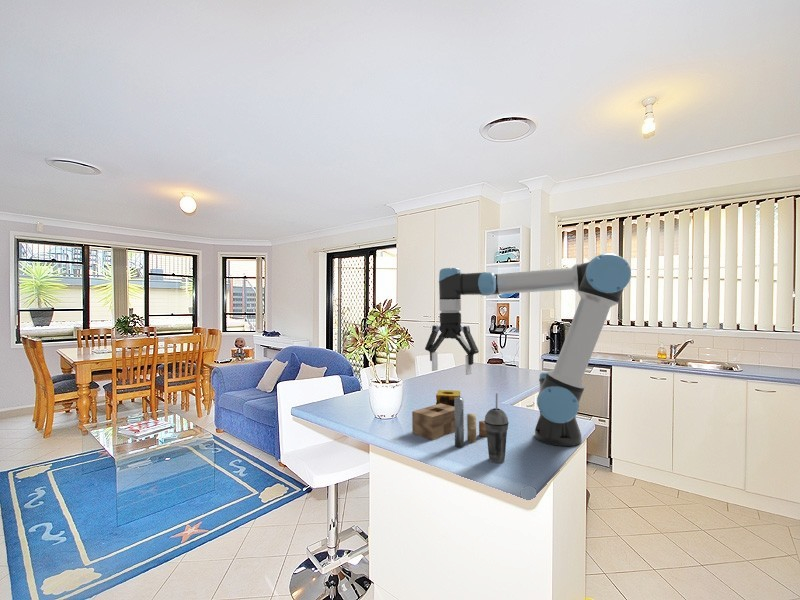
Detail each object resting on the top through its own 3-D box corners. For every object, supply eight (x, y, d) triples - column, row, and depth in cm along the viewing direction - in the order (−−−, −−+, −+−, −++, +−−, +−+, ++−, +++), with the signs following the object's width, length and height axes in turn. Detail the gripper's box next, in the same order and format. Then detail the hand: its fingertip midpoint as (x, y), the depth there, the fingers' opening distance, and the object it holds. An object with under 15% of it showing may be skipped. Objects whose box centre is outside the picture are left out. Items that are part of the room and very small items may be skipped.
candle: (460, 420, 157) (460, 396, 157) (435, 419, 159) (435, 395, 159) (461, 413, 167) (461, 390, 167) (438, 412, 169) (437, 389, 169)
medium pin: (477, 440, 134) (477, 414, 134) (472, 443, 132) (472, 416, 132) (470, 438, 136) (470, 413, 136) (465, 440, 134) (465, 414, 134)
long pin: (465, 446, 129) (465, 398, 130) (460, 448, 127) (459, 399, 127) (458, 443, 132) (458, 396, 132) (453, 446, 130) (452, 398, 130)
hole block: (460, 429, 146) (460, 408, 146) (432, 440, 135) (432, 417, 135) (440, 423, 154) (440, 403, 154) (412, 433, 143) (412, 411, 143)
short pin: (489, 435, 139) (489, 421, 139) (484, 438, 137) (484, 423, 137) (482, 433, 141) (482, 420, 141) (477, 435, 139) (477, 421, 139)
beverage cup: (482, 462, 116) (482, 396, 116) (486, 453, 123) (485, 390, 123) (508, 466, 113) (507, 398, 113) (510, 457, 120) (509, 392, 120)
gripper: (487, 311, 132) (488, 374, 132) (426, 311, 147) (427, 367, 147) (477, 312, 126) (478, 377, 126) (415, 312, 141) (416, 370, 141)
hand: (451, 372), depth 137 cm, fingers open, 13 cm apart
